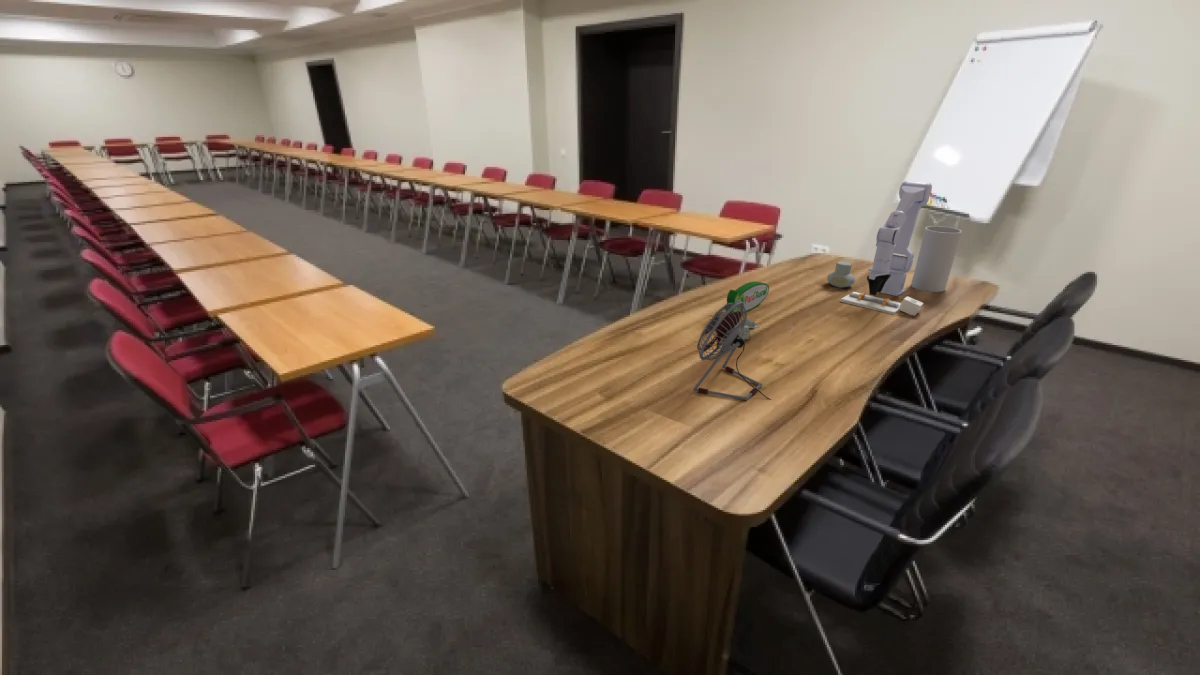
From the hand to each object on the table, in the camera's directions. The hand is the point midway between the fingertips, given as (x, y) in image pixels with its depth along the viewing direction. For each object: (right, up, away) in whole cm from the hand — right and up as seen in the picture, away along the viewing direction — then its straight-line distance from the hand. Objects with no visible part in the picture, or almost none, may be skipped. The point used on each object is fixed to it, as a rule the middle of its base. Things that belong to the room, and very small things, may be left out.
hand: (875, 293), depth 201 cm
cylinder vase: (+32, +3, +19) cm, 37 cm away
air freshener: (-3, +5, +23) cm, 24 cm away
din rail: (0, -3, +1) cm, 3 cm away
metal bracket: (-51, -14, -21) cm, 57 cm away
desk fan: (-66, -33, -59) cm, 95 cm away
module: (+9, -7, -7) cm, 13 cm away
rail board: (0, -4, +2) cm, 5 cm away
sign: (-50, -6, -2) cm, 51 cm away
